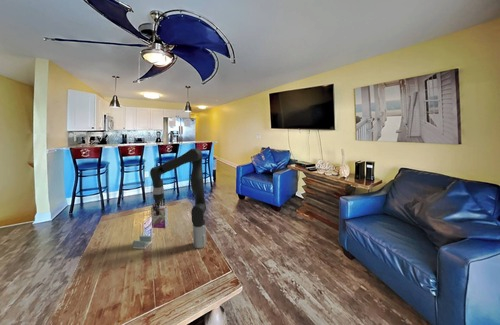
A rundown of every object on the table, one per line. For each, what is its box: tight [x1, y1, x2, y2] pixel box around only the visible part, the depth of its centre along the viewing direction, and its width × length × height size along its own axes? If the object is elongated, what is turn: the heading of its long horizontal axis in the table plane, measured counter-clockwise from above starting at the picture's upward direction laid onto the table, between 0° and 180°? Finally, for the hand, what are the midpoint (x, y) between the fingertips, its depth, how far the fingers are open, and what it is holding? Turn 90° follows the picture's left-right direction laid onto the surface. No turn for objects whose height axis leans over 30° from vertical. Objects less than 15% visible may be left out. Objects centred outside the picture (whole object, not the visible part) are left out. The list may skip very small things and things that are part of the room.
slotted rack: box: [132, 234, 153, 250], centre depth 145 cm, size 9×9×5 cm
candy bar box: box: [150, 205, 169, 230], centre depth 146 cm, size 11×5×16 cm, turn 84°
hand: (159, 213), depth 146 cm, fingers closed on candy bar box, 5 cm apart
